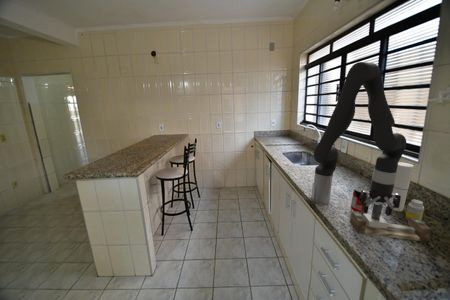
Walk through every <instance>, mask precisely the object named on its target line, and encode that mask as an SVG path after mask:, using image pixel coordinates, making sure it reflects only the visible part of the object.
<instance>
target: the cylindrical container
mask: <svg viewBox="0 0 450 300" xmlns="http://www.w3.org/2000/svg"><path fill="white" fill-rule="evenodd" d="M414 166H415V165H413V164H411V163H408V162H402V161H401V162H400V161H399V162H398V167H397V171H396V180H395V184H394V189H393V192H392V194H394V193H397V194H399V195H400V196H401V199H400V205H399V208H393V210H392V211H395V212H403V211H404V207H405V203H406V199H407V196H408V191H409V187H410V184H411V180H412V174H413V170H414ZM389 201H390V202H391V203H392V204H393V197H392V198H390V199H389ZM387 206H388V205H387V204H386V203H385V208H386V207H387Z"/></svg>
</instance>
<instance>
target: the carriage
mask: <svg viewBox="0 0 450 300" xmlns="http://www.w3.org/2000/svg"><path fill="white" fill-rule="evenodd" d="M372 205H373V206H372V210H371V214H369V213H367V214H366V213H362V216H363V218H364V219H365V220H366V222H367V223H366V224H367V225H368V226H371V227H379V228H387V227H388V224H389V223H388V222H387V221H386V219H385V218H384V217H383V216H382V209H383V203H381V202H374V203H373V204H372Z"/></svg>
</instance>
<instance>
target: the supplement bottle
mask: <svg viewBox="0 0 450 300" xmlns="http://www.w3.org/2000/svg"><path fill="white" fill-rule="evenodd" d="M424 212H425V207H424V202H423V201H421V200H420V199H411V201H410V202H408V204H407V208H406V212H405V216H404V218H405V220H407V221H408V220H409V217H414V218H418V219H419V220H421V221H422V219H423V215H424Z"/></svg>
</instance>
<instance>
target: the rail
mask: <svg viewBox="0 0 450 300" xmlns="http://www.w3.org/2000/svg"><path fill="white" fill-rule="evenodd" d="M349 223H350V225H351V226H352V227H353V229H354V231H355V232H356V233H358V234H365V235H371V236H372V235H373V236H380V237H386V238H387V237H388V238H396V239H401V240H402V239H403V240H411V241H418V242H419V241H420V242H427V243H428V241H429V240H430V239H429V238H430V236H431V232H432V228H431V227H429V226H428V225H427V224H426V223H425V222H424V221H422V219H421V220H419V219H418V218H414V217H409V220H407V224H406V225H404V224H395V223H388V227H387V228H379V227H371V226H368V225H367V224H366V223H367V222H366V220H365V219H364V218H363V214H362V213H359V212H357V211H353V210H351V214H350V219H349Z"/></svg>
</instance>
